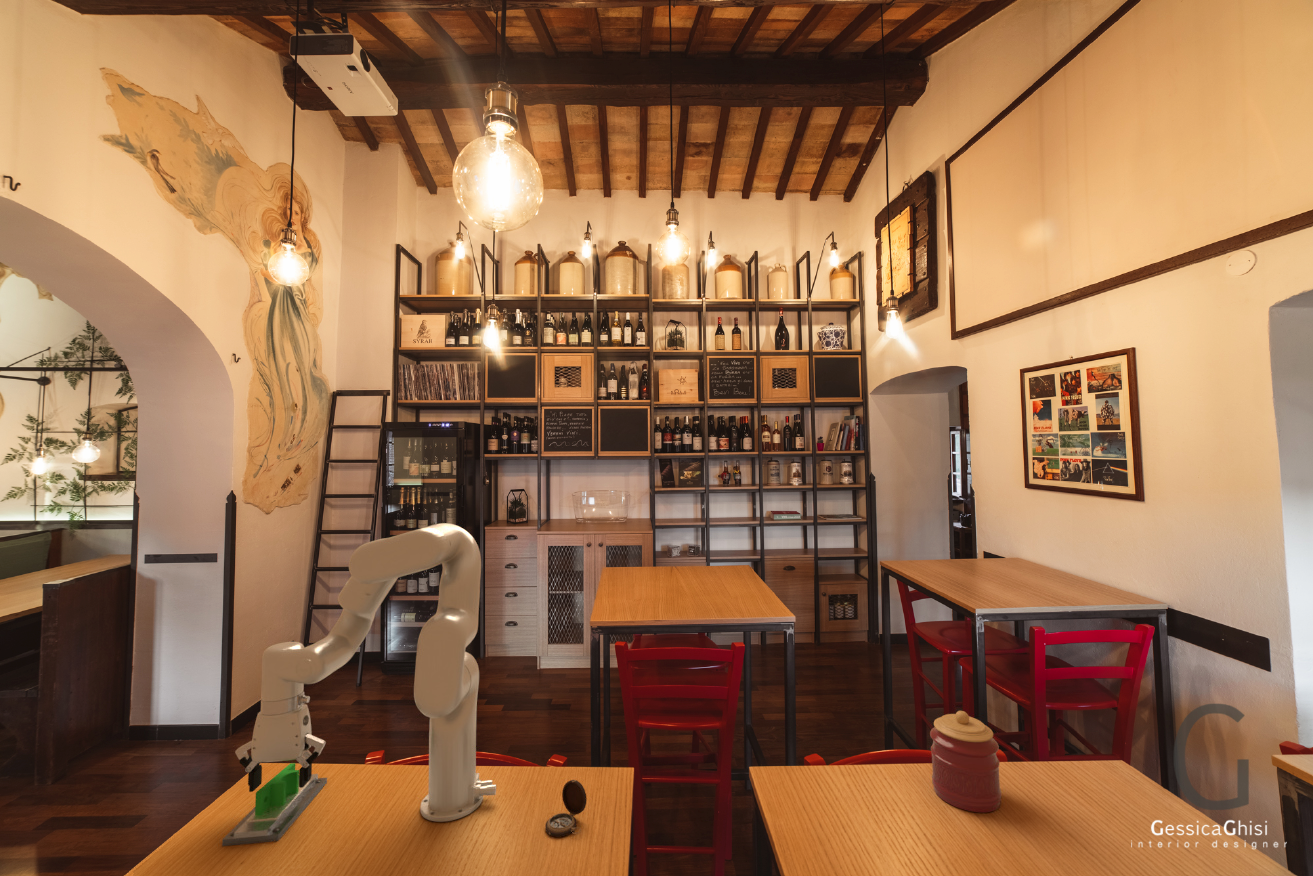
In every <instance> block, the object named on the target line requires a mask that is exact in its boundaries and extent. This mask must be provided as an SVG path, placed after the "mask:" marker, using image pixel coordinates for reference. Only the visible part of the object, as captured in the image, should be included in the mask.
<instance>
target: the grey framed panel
mask: <svg viewBox="0 0 1313 876" xmlns="http://www.w3.org/2000/svg"><path fill="white" fill-rule="evenodd" d="M327 783H328V777H319V773H313V774H312V776H311V779H310V780H309V781H308V782H307V784H306V785H305V786H304V787H303V788H300V787H299V791H298V792H297V793H293V794H290V795H287V796H286V804H285V805H283V806H270V807H269V808H268V809H267V810H266V811H265V812H264V813H263V814H261V815H255V806H254V807H253V808H252V809H251V810H250V811H249V812H248V813H247V814H246V815H245V817H243V818H242V819H241V820H240V822H238V823H237V825H235V826H234V828H232V829H231V831H229V832H228V833H227V834H226V835H225V836H224V837H223V838H222V841H221V847H227V846H228V847H230V846H238V845H249V844H250V845H251V844H258V843H271V842H279V841H280V840H281V838H282V837H283V836H284V835H285V834H286V833H287V831H288V830H289V829H290V827H291V826H292V825H293V824H294V823H295V821H297V819H298V818H299V817H300V815H301V814H303V812H304V811H305V810H306V809H307V808H308V806H309V805H310V804H311V803H312V801H313V800H314V799H315V798H316V797H317V795H318V794H319V793H320V792H321V791H322V789H323V788H324V787H325V786H326V785H327ZM325 784H326V785H325ZM323 786H324V787H323ZM320 790H321V791H320ZM314 797H315V798H314ZM288 828H289V829H288Z"/></svg>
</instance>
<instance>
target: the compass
mask: <svg viewBox="0 0 1313 876" xmlns="http://www.w3.org/2000/svg"><path fill="white" fill-rule="evenodd" d="M561 797H562V798H561V799H562V802H563V805H564V807H565V809H566V811H568V812H569V813H567V812H566V813H565V812H560V813H556V814H554V815H552V816H551V817H550V818H548V819H547V821H546V822H545V832H546V834H548V835H549V836H551V837H554V836H556V838H561V837H560V836H563V837H566V836H568V835H571V834H573V835H578V834H580V833H581V830H582V829H581V828H580V827H577V825H576V824H577V823H578V822H577V819H576V817H575V816H576V815H579V814H581V813H582V812H583V811H584V810H585V808H586V806H587V799H588V798H587V792H586V790H585V787H584V785H583V784H582V783H581V782H579V780H577V779H571V780H569V781H567V782H566V783H564V786H563V788H562V792H561ZM576 829H578V830H579V831H578V832H575V831H576ZM572 831H573V832H572ZM571 832H572V833H571ZM567 834H568V835H567ZM565 835H566V836H565Z"/></svg>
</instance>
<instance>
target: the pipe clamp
mask: <svg viewBox="0 0 1313 876" xmlns="http://www.w3.org/2000/svg"><path fill="white" fill-rule="evenodd" d="M299 770H300V769H296V762H291V763H289V764H288V765H286V766H285V767H284V768H283V769H282V770H281V771H280V772H278V773H277V774H276V775H274V776H273V777H272V778H271V779H270V780H269V781H268V782H266V783H265V784H264V785H263V786H262V787H261V788H259V789H258V790H257V791H256V792H255V802H254V803H255V804H254V805H255V806H254V807H255V815H261V814H263V813H264V812H265V811H266V810H267V809H268V808H269V807H270V806H283V805H285V804H286V796H287V795H290V794H293V793H297V792H298V791H299Z"/></svg>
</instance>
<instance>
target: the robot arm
mask: <svg viewBox="0 0 1313 876" xmlns="http://www.w3.org/2000/svg"><path fill="white" fill-rule="evenodd" d="M476 541H477V540H475V537H473V535H472V534H470V532H468V531H467V530H466V529H464V528H462V527H461V526H459V525H456V524H453V523H448V522H446V523H445V522H442V523H436V524H431V525H428V526H426V527H422V528H418V529H414V530H410V531H407V532H405V533H404V532H403V533H401V534H397V535H393V536H391V537H386V538H380V539H379V538H378V539H376V540H372V541H369V542H365V543H363V544H361V545H360V546H358V547H357V548H356V549H355V550H354V551H353V553H352V554H351V556H350V558H349V561H348V562H349V563H348V570H349V573H350V575H351V576H350V577H349V579H347V581H346V583H345V585H344V586H343V587H342V589H341V591H340V592H339V594H338V595H337V602H338V603H339V606H340V607H341V608H342V611H341V614H340V616H339V617H338V619H337V621H336V623H335V624H334V626H333V627H332V628H331V630H330V631H329V632H328V634H327V635H326V636H325V637H324V638H322V639H320V640H318V641H316V642H315V643H313V644H310V645H308V646H304V644H303V643H302V642H299V641H285V642H279V643H275V644H273V645H271V646H268V647H267V648H266V649H265V650H264V651H263V653H262V659H261V688H260V689H261V694H260V696H261V697H260V711H259V712H257V716H256V718H255V719H256V720H255V722H254V723H255V724H254V726H253V732H252V739H251V740H250V741H248V742H246V743H245V744H242V745H241V746H239V747H238V748H237V749H236V750H235V751H234V753H235V755H236V757H237V759H238V760H239V764H240V765H241V766H242V767H243V768H245V769H244V770H245V772H246V773H247V774H248V775H247V777H248V779H247V785H248V792H249V793H253V792H254V791H256V790H257V788H259V787H260V786H261V785H262V780H263V779H262V778H263V777H262V775H263V766H262V764H261V763H270V762H272V763H274V762H283V761H294V760H296V761H297V762H298V763H299V764H300V765H301V766H300V768H299V769H298V770H299V787H300V788H303V787H304V786H305V785H306V784H307V782H308V781H309V780H310V779H311V776H312V773H313V772H312V771H313V769H312V768H313V765H312V764H313V762H314V761H315V760H316V759H317V757H318V756H320V755H321V753H322V751H323V749H324V748H325V745H326V743H327V742H326V740H324V739H322V738H319V737H317V736H315V735H312V724H311V721H312V720H311V714H310V711H309V706H308V703H310V699H311V697H310V696H309V695H305V691H304V688H305V687H304V685H312V684H313V685H314V684H316V683H318V682H320V681H322V680H324V679H325V678H327V677H328V676H330V675H331V674H333V673H334V672H336V671H337V670H338V669H340V668H342V667H343V666H344V665H346V664H347V663H348V662H349V661H350V660H351V659H352V658H353V657H354V655H355V653H356V652H357V651H358V650H359V647H360V646H361V644H362V642H363V641H364V640H365V639H366V637H367V636H368V633H369V632H370V629H371V627H372V625H373V622H374V619H375V617H376V613H377V611H378V609H379V608H380V606H381V605H382V603H383V602H384V600H385V598H386V597H387V595H388V594H389V592H390V590H391V589H392V588H393V586H394V585H395V583H396V582H397V580H398V578H401V577H405V576H407V575H411V574H416V573H420V572H422V571H426V570H429V569H432V568H434V567H436V566H439V565H442V571H441V575H440V580H439V587H438V591H439V592H438V604H437V609H436V613H435V614H434V615H432V616H431V617H430V618H429V619H428V620H427V621H426V623H424V625H423V626H422V628H421V630H420V633H419V636H418V639H417V644H416V645H417V646H416V656H415V670H414V684H413V698H414V702H415V705H416V707H417V709H418V711H420V713H421V714H423V715H424V716H425V717H427V718H429V732H428V738H429V739H428V794H426V795H425V797H423V799H422V800H421V802H420V815H421V816H422V817H423V818H424V819H426V820H428V821H430V822H437V823H438V822H439V823H442V822H444V823H445V822H452V821H454V820H459V819H461V818H464V817H465V816H468V815H470V814H471V813H473V812H474V811H475V810H477V809H478V808H479V806H480V805H481V804H482V802H483V799H484V796H496V793H497V784H493V780H492V779H487V780H482V779H480V773H479V772H477V771H476V769H477V767H476V766H477V760H476V759H477V756H476V755H477V747H476V746H477V707H478V706H477V702H478V695H479V694H478V692H479V685H480V684H479V683H480V670H479V665H478V663H477V660H476V659H475V657H474V656H473V655H472V654H471V653H469V652H467V651H466V650H467V649H466V648H467V647H468V646H469V645H470V644H471V643H472V641H473V640H474V639H475V637H476V635H477V633H478V631H479V629H478V628H479V611H480V609H479V608H480V595H481V591H480V589H481V574H482V573H481V571H482V559H481V552H480V551H481V550H480V548H479V545H478V544H477V542H476ZM311 747H314V750H313V753H312V752H311V751H310V750H309V749H310V748H311ZM250 749H251V750H250ZM248 750H250V752H251V753H250V754H251V755H250V754H249V753H248ZM476 772H477V773H476Z"/></svg>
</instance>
